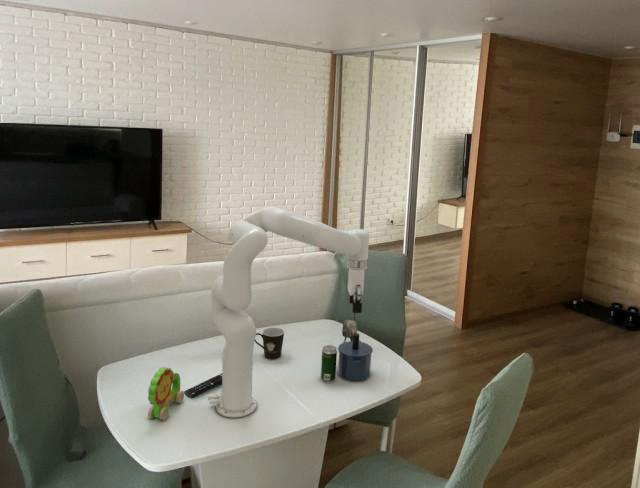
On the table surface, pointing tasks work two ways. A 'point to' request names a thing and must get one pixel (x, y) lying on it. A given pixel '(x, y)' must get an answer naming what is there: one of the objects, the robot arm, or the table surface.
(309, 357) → the table surface
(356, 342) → the lid
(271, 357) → the coffee mug
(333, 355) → the beer can
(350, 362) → the pot
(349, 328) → the plant with pod
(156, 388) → the toy lion
